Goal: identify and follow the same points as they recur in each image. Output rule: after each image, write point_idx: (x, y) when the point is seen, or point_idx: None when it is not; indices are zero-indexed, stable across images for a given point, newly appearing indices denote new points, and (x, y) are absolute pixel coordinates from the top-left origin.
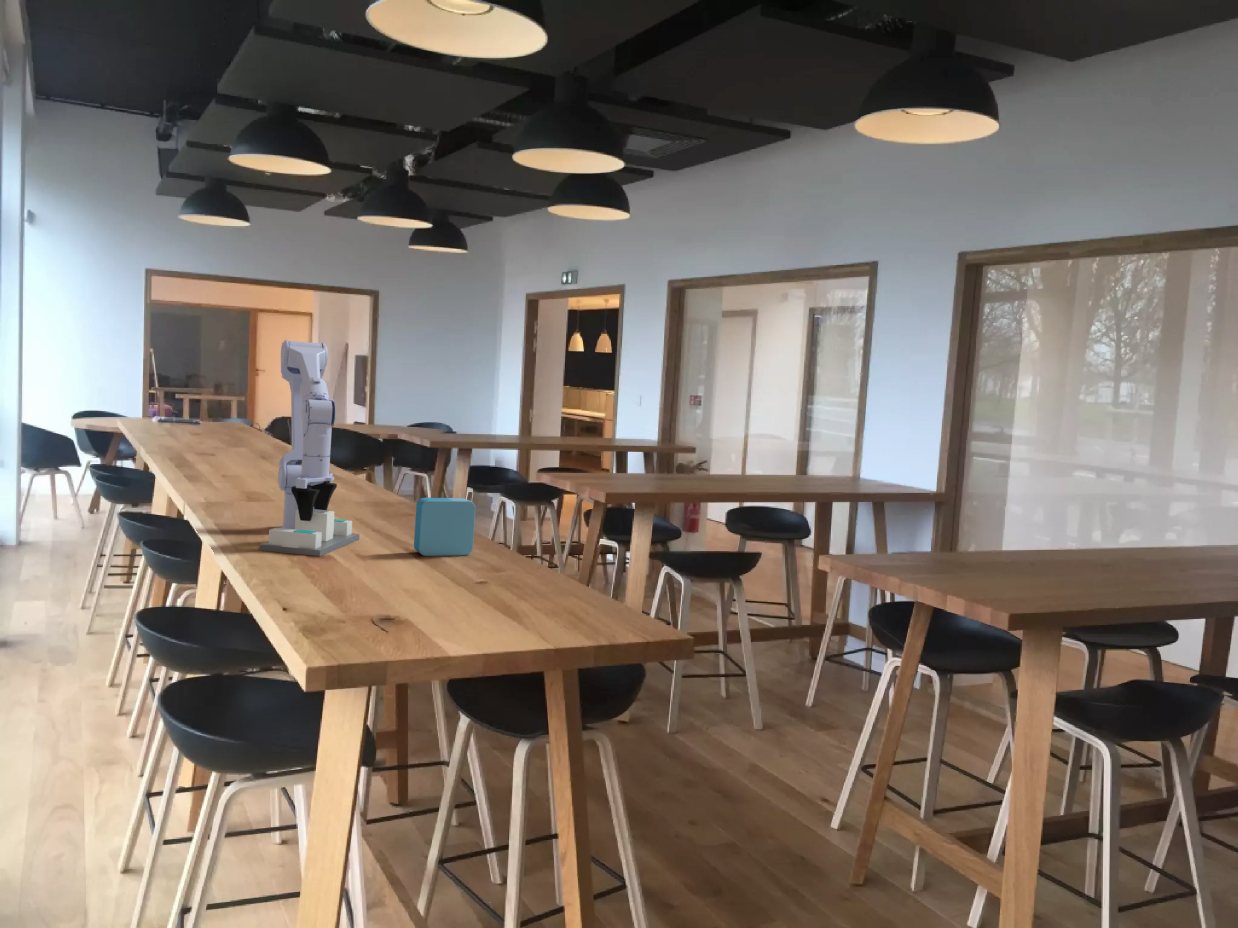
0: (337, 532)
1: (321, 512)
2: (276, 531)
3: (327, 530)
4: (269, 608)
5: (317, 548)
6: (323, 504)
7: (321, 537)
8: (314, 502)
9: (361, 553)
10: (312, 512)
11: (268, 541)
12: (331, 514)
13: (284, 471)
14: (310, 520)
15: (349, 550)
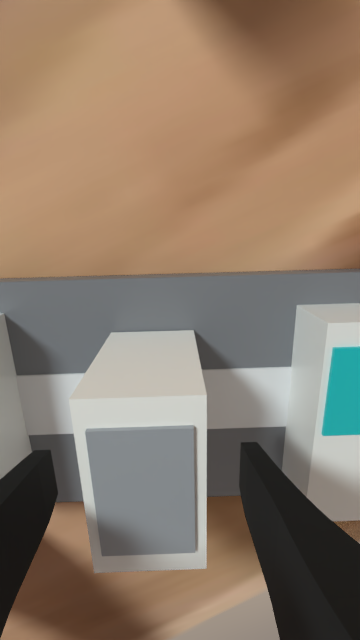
0: (5, 359)
1: (194, 439)
2: None
3: (180, 348)
4: None
5: (346, 298)
6: (13, 520)
7: (315, 315)
8: (295, 532)
9: (237, 132)
10: (263, 471)
11: None
12: (127, 389)
13: None
14: (245, 442)
15: (197, 212)
